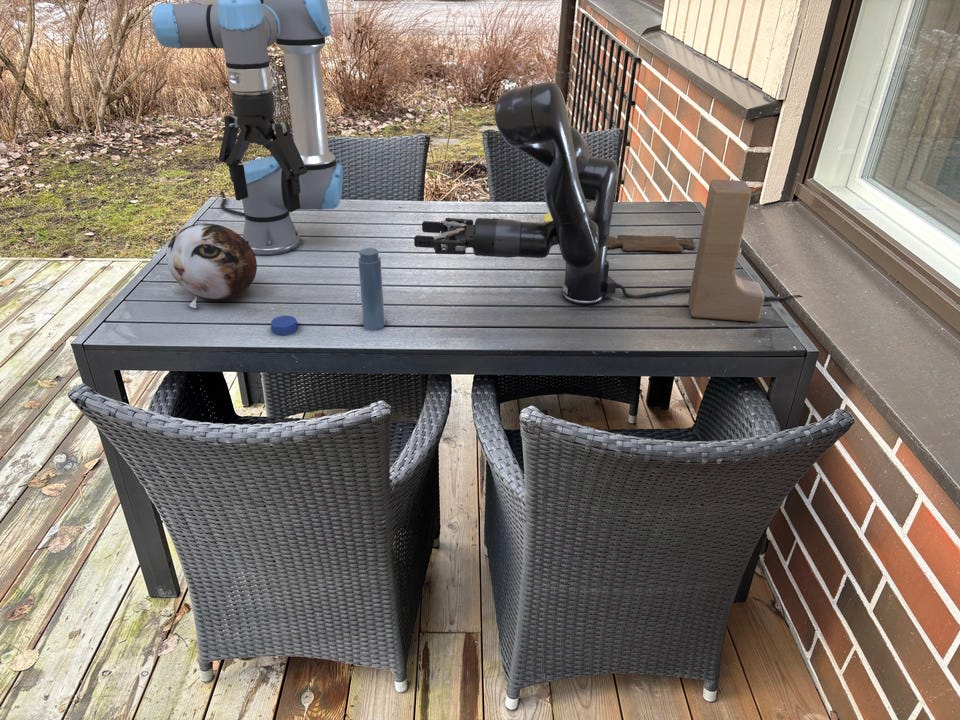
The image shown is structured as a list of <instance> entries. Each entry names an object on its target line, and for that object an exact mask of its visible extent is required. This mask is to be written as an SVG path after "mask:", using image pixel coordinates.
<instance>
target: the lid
mask: <svg viewBox="0 0 960 720" xmlns="http://www.w3.org/2000/svg"><path fill="white" fill-rule="evenodd" d="M270 327H271V332H272V333H273V334H274V335H277V336H289V335H293V334H294V333H296V332H297V331H298V329H299V326H298V320H297V318H296V316H295V317H294V316H292V315H279V316H276V317H274V318H273V319H272V320H271V321H270Z"/></svg>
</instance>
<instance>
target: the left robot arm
mask: <svg viewBox="0 0 960 720" xmlns="http://www.w3.org/2000/svg"><path fill="white" fill-rule="evenodd" d="M152 9H153V10H152V14H151V23H152V29H153V33H154V36H155V38H156V41H157V42H158V43H159V44H160V45H161V46H162V47H163V48H169V49H170V48H171V49H177V50H181V49H223V55H224V60H225V67H226V74H227V80H228V86H229V90H230V91H232V93H231V94H230V100H231V105H232V112H233V113H232V114H228V115H224V130H223V135H222V141H221V145H220V149H219V150H220V151H219V155H218V159H219V162H220V163H225V164H226V166H227V167H228V171H229V176H230V181H231V182H232V185H233V192H234V197H235V200H236V201H242V208H243V212H242V211H237V210H235V209H231V208H227V207H226V206H225V204H226V202H227V200H226V194H225V192H224V191H223V190H221V191H220V192H219V195H220V196H221V197H222V201H221V203H220V208H221V209H222V210H223V211H225V212H228V213H231V214H235V215H239V216H243V217H244V219H245V220H244V226H243V228H244V229H243V235H242V237H243V238H244V239H245V240H246V241H249V242H248V244H249V245H250V247H251V248H252V250H253V252H254V254H255V256H256V255H257V256H275V255H281V254H282V255H283V254H285V253H289V252H291V251H293V250H296V249H297V248H298V247H299V246H300V244H301V241H300V235H299V233H298V231H297V229H296V227H295V225H294V223H293V220H292V218H291V216H290V213H293V212H295V211H298V210H316V211H317V210H318V211H319V210H320V211H323V210H335V209H337V208H339V206H340V203H341V201H342V200H341V199H342V194H343V183H344V171H343V170H344V167H343V165H342V164H340V163H337V161H336V160H337V159H336V156H335V155H334V154H333V153H332V152H331V151H330V148H329V139H328V127H327V118H326V117H327V116H326V115H327V114H326V105H325V94H324V84H323V83H324V82H323V72H322V60H321V51H322V50H323V48H324V47H325V46H326V38H328V37H330V36H331V34H332V25H331V16H330V15H331V14H330V11H329V6H328V1H327V0H192V1H189V2H184V3H172V2H168V3H158V4H155V6H154V7H153V8H152ZM274 44H275V45H276V46H277V47H278V48H279V49H280V50H281V51H282V53H283V60H284V68H285V76H286V77H285V78H286V86H287V94H288V103H289V111H290V120H291V129H292V134H291V131H290V130H291V129H290V126H289V123H288V122H287V121H281V122H275V119H274V114H275V112H276V104H275V96H274V93H273V92H272V91H271V90H272V89H273V80H272V74H271V67H270V60H269V51H268V48H269V47H271V46H273V45H274ZM239 130H240V131H239ZM292 136H293V137H292ZM250 144H257V145H258V146H263V147H264V149H266V150H268V152H269V153H270V154H271V155H272V156H265V157H258V158H255V159H251V160H248V161H246V162H244V163H243V161H242V159H243V157H244V155H245V154H246V152H247V150H248V148H249V146H250ZM223 198H225V199H223Z"/></svg>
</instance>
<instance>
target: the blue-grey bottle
mask: <svg viewBox="0 0 960 720" xmlns="http://www.w3.org/2000/svg"><path fill="white" fill-rule="evenodd" d="M358 254H359V257H358V259H357V260H358V261H357V262H358V273H359V274H358V275H359V285H360V286H359V287H360V298H361V299H360V300H361V312H362V313H361V314H362V321H363V322H362V324H363V328H364V329H366V330H368V331H379V330H381V329H383V328H384V327H385V325H386V322H385V320H386V319H385V304H384V288H383V276H382V275H383V272H382V271H383V269H382V259H381V257H380V256H379V249H377V248H375V247H365V248H362V249H360V251H359V253H358Z"/></svg>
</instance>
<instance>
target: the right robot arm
mask: <svg viewBox="0 0 960 720" xmlns="http://www.w3.org/2000/svg"><path fill="white" fill-rule="evenodd" d="M568 112H569V111H568V108H567V104H566V101H565V97H564V95H563V92H562V90H561V88H560V86H558V84H557V83H555V82H553V81H544V82H538V83H534V84H530V85H525V86H521V87H516V88H512V89H509V90H507V91H504V92H503V93H502V94H500V95H499V97H497V100H496V102H495V105H494V120H495V125H496V127H497V130H498V132H499V134H500V136H501V137H502V138H503V140H504V141H505V143H506V144H508V146H510V147H512V148H514V149H515V150H517V151H520V152H521V153H524V154H525V155H527V156H529V157H530V158H531V159H533V160H534V161H535V162H537V163H538V164H539V165H540V166H541V167H542V168H543V169H545V171H546V172H547V176H546V177H545V181H544V185H543V196H544V200H545V204H546V206H547V209H548V212H550V214H551V217H552V219H553V220H552V221H548V222H544V221H543V222H537V221H536V222H535V221H533V222H532V221H519V220H514V219H503V218H496V219H492V218H488V217H487V218H486V217H483V218H482V217H477V218H476V219H475V221H474V220H473V219H470V218H469V219H468V218H455V217H446V218H445V219H444V220H441V221H431V220H423V221H422V222H421V223H422V224H421V231H422V232H423V233H426V234H427V233H428V234H440V235H435V236H434V235H418V234H417V235H415V236H414V238H413V243H414V247H415V248H423V249H424V248H425V249H426V248H427V249H432V250H434V253H435V254H439V255H466V254H467V253H466V251H467V249H471V248H472V249H473V250H472V252H473V255H474V256H476V257H489V258H506V259H507V258H509V259H510V258H531V259H543V258H544V259H545V258H546V257H547V256H548V255H549V253H550V251H551V248H552V247H553V246H556V245H558V246H559V251H560V254H561V257H562V259H563V260H564V262H565V274H564V281H563V282H562V290H563V291H562V297H563V299H564V300H565V301H567V302H569V303H571V304H574V305H579V306H592V305H597V304H598V303H600V302H601V301H604V300H606V296H607V295H611V294H616V292H617V291H616V290H617V288H618V289H620V290H621V291H622V294H623V296H624V297H627V298H629V299H646V298H650V297H657V296H665V295H671V294H675V293H688V292H689V293H690V290H691V287H683V288H674V289H668V290H663V291H655V292H649V293H644V294H638V295H635V294H630V293H628V292H627V289H626V288H625V287H624V285H622V284H621V283H617V282H616V280H614V279H613V278H612V277H611V276H610V275H609V271H610V262H609V261H608V260H607V258H608V257H607V256H608V249H609V248H608V240H609V236H610V229H611V222H612V218H613V217H612V216H613V210H614V203H615V197H616V190H617V185H618V178H619V168H618V164H617V161H615V160H614V159H610V158H603V157H595V156H590V148H589V144H588V143H587V141H586V139H585V138H584V137H583V135H582V134H581V132H579V131H578V129H576V127H574V126H573V125H571V123H570V119H569V113H568ZM587 201H592V202H595V205H594V207H592V208H589V207H588V203H587ZM473 225H474V226H473ZM787 294H788V293H785V294H783V295H779V296H771V295H769V296H770V297H767V296H768V295H764V297H765V298H764V300H765V301H766V300H767V301H781V300H785V299H787V298H790V296H788V295H787Z"/></svg>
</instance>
